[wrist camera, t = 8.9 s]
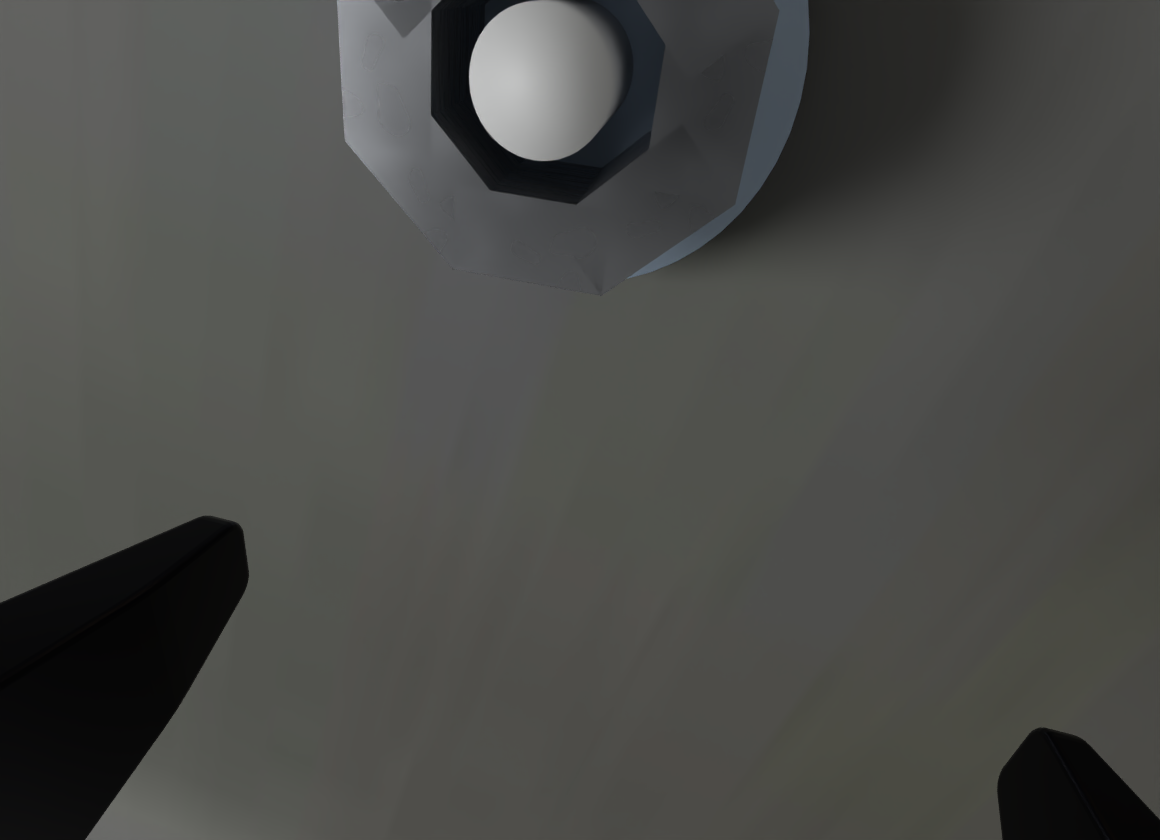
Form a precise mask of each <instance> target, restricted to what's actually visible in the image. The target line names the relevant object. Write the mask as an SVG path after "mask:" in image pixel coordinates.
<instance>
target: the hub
mask: <svg viewBox="0 0 1160 840" xmlns="http://www.w3.org/2000/svg"><path fill="white" fill-rule="evenodd" d="M774 2H775V4H776V5H777V7H778V9H779V15H778V19H777V24H776V28H775V33H774V37H773V41H772V46H771V50H770V55H769V59H768V63H767V68H766V72H765V76H764V81H763V85H762V90H761V94H760V98H759V103H758V107H757V111H756V116H755V120H754V125H753V129H752V133H751V138H750V142H749V146H748V151H747V155H746V160H745V164H744V168H743V173H742V177H741V181H740V186H739V190H738V195H737V199H736V203H735V205H734V206H733V207H731V208H730V209H728V210H727V211H725V212H724V213H722V214H721V215H719V216H718V217H716V218H715V219H713V220H712V221H710V222H709V223H708V224H706V225H705V226H703V227H702V228H700V229H699V230H697V231H696V232H694V233H693V234H691V235H690V236H688V237H687V238H685V239H684V240H683V241H681V242H680V243H678V244H677V245H675V246H674V247H672V248H671V249H669V250H668V251H666V252H665V253H663V254H662V255H660V256H659V257H658V258H656V259H655V260H653V261H652V262H650V263H649V264H647V265H646V266H644V267H643V268H641V269H640V270H638V271H637V272H635V273H634V274H633V275H631V276H630V277H628V278H631V277H635V276H638V275H642V274H646V273H650V272H653V271H655V270H657V269H660V268H662V267H665V266H667V265H669V264H672V263H674V262H676V261H678V260H680V259H682V258H683V257H685V256H687V255H689V254H690V253H692V252H694V251H696V250H697V249H699V248H700V247H702V246H703V245H704V244H706V243H707V242H708V241H710V240H711V239H712V238H714V237H715V236H716V235H718V234H719V233H720V232H721V231H722V230H724V229H725V228H726V227H727V226H728V225H729V224H730V223H731V222H732V221H733V220H734V219H735V218H736V217H737V216H738V215H739V214H740V213H741V212H742V211H743V210H744V208H745V207H746V206H747V205H748V203H749V202H750V201H751V200H752V198H753V197H754V196H755V195H756V193H757V192H758V191H759V190H760V188H761V187H762V185H763V183H764V182H765V180H766V179H767V177H768V175H769V174H770V172H771V171H772V169H773V167H774V166H775V164H776V163H777V160H778V158H779V156H780V154H781V152H782V150H783V147H784V145H785V143H786V141H787V139H788V137H789V135H790V132H791V129H792V126H793V123H794V120H795V117H796V114H797V110H798V107H799V104H800V101H801V96H802V91H803V86H804V81H805V76H806V71H807V61H808V48H809V34H810V32H809V10H808V0H774ZM664 51H665V43H664V42H663V40H662V39H661V37H660V36H659V34H658V32H657V31H656V29H655V28H654V26H653V25H652V23H651V22H650V20H649V18H648V17H647V15H646V14H645V12H644V11H643V9H642V8H641V6H640V5H639V3H638V1H637V0H490V1H489V2H488V3H487V4H486V5H485V20H484V30H483V31H482V33H481V34H480V36H479V38H478V40H477V42H476V44H475V47H474V50H473V53H472V57H471V61H470V69H469V86H470V93H471V98H472V101H473V105H474V108H475V110H476V113H477V115H478V117H479V119H480V121H481V123H482V124H483V126H484V127H485V129H486V130H487V132H488V133H489V134H490V135H491V136H492V138H493V139H494V140H495V141H497V142H498V143H499V144H500V145H501V146H502V147H504V148H505V149H507V150H508V151H510V152H512V153H514V154H515V155H518V156H520V157H523V158H526V159H530V160H537V161H552V160H556V161H562V162H568V163H575V164H581V165H587V166H593V167H599V168H603V167H604V166H605V165H607V164H608V163H609V162H610V161H612V160H613V159H614V158H616V157H617V156H618V155H619V154H621V153H622V152H623V151H625V150H626V149H627V148H628V147H630V146H631V145H632V144H634V143H635V142H636V141H637V140H639V139H640V138H641V137H643V136H644V135H645V134H646V133H648V132H649V131H650V130H652V126H653V120H654V114H655V107H656V101H657V95H658V88H659V82H660V76H661V69H662V63H663V57H664Z"/></svg>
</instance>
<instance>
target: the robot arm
mask: <svg viewBox="0 0 1160 840" xmlns="http://www.w3.org/2000/svg"><path fill="white" fill-rule="evenodd" d="M248 578H249V570H248V562H247V555H246V548H245V541H244V534H243V529H242V528H241V526H240V525H239V524H238V523H236V522H233V521H230V520H226V519H222V518H218V517H214V516H202V517H199V518H196V519H194V520H191V521H189V522H187V523H184V524H182V525H180V526H177V527H175V528H173V529H170V530H168V531H166V532H163V533H161V534H159V535H156V536H154V537H152V538H149V539H147V540H145V541H143V542H140V543H138V544H136V545H133V546H131V547H129V548H126V549H124V550H122V551H119V552H117V553H115V554H112V555H110V556H108V557H105V558H103V559H101V560H98V561H96V562H94V563H92V564H89V565H87V566H85V567H82V568H80V569H78V570H75V571H73V572H71V573H68V574H66V575H64V576H61V577H59V578H57V579H54V580H52V581H50V582H48V583H45V584H43V585H41V586H38V587H36V588H34V589H31V590H29V591H27V592H24V593H22V594H20V595H17V596H15V597H13V598H10V599H8V600H6V601H3V602H1V603H0V840H85V839H86V838H87V836H88V835H89V833H90V832H91V831H92V829H93V828H94V826H95V825H96V824H97V822H98V821H99V819H100V818H101V817H102V815H103V814H104V812H105V811H106V810H107V808H108V807H109V805H110V804H111V802H112V801H113V800H114V798H115V797H116V795H117V794H118V793H119V791H120V790H121V788H122V787H123V786H124V784H125V783H126V781H127V780H128V779H129V777H130V776H131V774H132V773H133V772H134V770H135V769H136V767H137V766H138V765H139V763H140V762H141V760H142V759H143V757H144V756H145V755H146V753H147V752H148V750H149V749H150V748H151V746H152V745H153V743H154V742H155V741H156V739H157V738H158V736H159V735H160V734H161V732H162V731H163V729H164V728H165V726H166V725H167V724H168V722H169V721H170V719H171V718H172V716H173V715H174V713H175V712H176V710H177V709H178V707H179V705H180V704H181V702H182V700H183V699H184V697H185V696H186V694H187V692H188V691H189V689H190V687H191V685H192V684H193V682H194V680H195V678H196V677H197V675H198V673H199V671H200V670H201V668H202V666H203V664H204V663H205V661H206V659H207V657H208V656H209V654H210V652H211V650H212V649H213V647H214V645H215V643H216V641H217V640H218V638H219V636H220V634H221V633H222V631H223V629H224V627H225V626H226V624H227V622H228V620H229V619H230V617H231V615H232V613H233V612H234V610H235V608H236V606H237V605H238V603H239V601H240V599H241V598H242V596H243V594H244V592H245V589H246V587H247V583H248ZM997 792H998V803H999V812H1000V821H1001V830H1002V839H1003V840H1160V819H1159V818H1158V817H1157V816H1156V815H1155V814H1154V813H1153V812H1152V811H1151V810H1150V809H1149V808H1148V807H1147V806H1146V805H1145V803H1144V802H1143V801H1142V800H1141V799H1140V798H1139V797H1138V796H1137V795H1136V794H1135V793H1134V792H1133V791H1132V790H1131V789H1130V788H1129V786H1128V785H1127V784H1126V783H1125V782H1124V781H1123V780H1122V779H1121V778H1120V777H1119V776H1118V775H1117V774H1116V773H1115V772H1114V771H1113V770H1112V768H1111V767H1110V766H1109V765H1108V764H1107V763H1106V762H1105V761H1104V760H1103V759H1102V758H1101V757H1100V756H1099V755H1098V754H1097V753H1096V751H1095V750H1094V749H1093V748H1092V747H1091V746H1090V745H1089V744H1088V743H1087V742H1086V741H1084V740H1083V739H1081V738H1080V737H1077V736H1075V735H1072V734H1068V733H1064V732H1060V731H1056V730H1052V729H1048V728H1037V729H1035V730H1033V731H1032V732H1031V733H1030V734H1029V735H1028V736H1027V737H1026V739H1025V740H1024V741H1023V743H1022V744H1021V745H1020V746H1019V748H1018V749H1017V750H1016V752H1015V753H1014V754H1013V755H1012V757H1011V758H1010V759H1009V761H1008V762H1007V763H1006V765H1005V766H1004V767H1003V769H1002V771H1001V773H1000V776H999V779H998V788H997Z"/></svg>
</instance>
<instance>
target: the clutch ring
mask: <svg viewBox="0 0 1160 840" xmlns="http://www.w3.org/2000/svg"><path fill="white" fill-rule="evenodd" d="M489 1H490V0H337V9H338V27H339V45H340V63H341V81H342V99H343V117H344V135H345V141H346V143H347V144H348V145H349V146H350V147H351V149H352V150H353V151H354V152H355V153H356V155H357V156H358V157H359V158H360V159H361V160H362V162H363V163H364V164H365V165H366V166H367V168H368V169H369V170H370V171H371V172H372V174H373V175H374V176H375V177H376V178H377V180H378V181H379V182H380V183H381V184H382V186H383V187H384V188H385V189H386V190H387V191H388V193H389V194H390V195H391V196H392V197H393V199H394V200H395V201H396V202H397V203H398V205H399V206H400V207H401V208H402V209H403V211H404V212H405V213H406V214H407V215H408V217H409V218H410V219H411V220H412V221H413V222H414V224H415V225H416V226H417V227H418V228H419V230H420V231H421V232H422V233H423V234H424V236H425V237H426V238H427V239H428V240H429V242H430V243H431V244H432V245H433V246H434V248H435V249H436V250H437V251H438V252H439V253H440V255H441V256H442V257H443V258H444V259H445V261H446V262H447V263H448V264H449V265H450V267H451V268H452V269H455V270H460V271H466V272H471V273H477V274H482V275H488V276H494V277H499V278H505V279H510V280H516V281H522V282H527V283H533V284H538V285H544V286H550V287H555V288H561V289H566V290H572V291H578V292H583V293H589V294H594V295H600V296H602V295H603V294H605V293H606V292H608V291H609V290H610V289H612V288H613V287H615V286H616V285H618V284H619V283H621V282H622V281H624V280H625V279H627V278H628V277H630V276H631V275H633V274H634V273H635V272H637V271H638V270H640V269H641V268H643V267H644V266H646V265H647V264H649V263H650V262H652V261H653V260H655V259H656V258H658V257H659V256H660V255H662V254H663V253H665V252H666V251H668V250H669V249H671V248H672V247H674V246H675V245H677V244H678V243H680V242H681V241H683V240H684V239H685V238H687V237H688V236H690V235H691V234H693V233H694V232H696V231H697V230H699V229H700V228H702V227H703V226H705V225H706V224H708V223H709V222H710V221H712V220H713V219H715V218H716V217H718V216H719V215H721V214H722V213H724V212H725V211H727V210H728V209H730V208H731V207H733V206H734V205H735V203H736V199H737V195H738V190H739V186H740V181H741V177H742V173H743V168H744V164H745V160H746V155H747V151H748V146H749V142H750V138H751V133H752V129H753V125H754V120H755V116H756V111H757V107H758V103H759V98H760V94H761V90H762V85H763V81H764V76H765V72H766V68H767V63H768V59H769V55H770V50H771V46H772V41H773V37H774V33H775V28H776V24H777V19H778V15H779V9H778V7H777V5H776V4H775V2H774V0H637V1H638V3H639V5H640V6H641V8H642V9H643V11H644V12H645V14H646V15H647V17H648V18H649V20H650V22H651V23H652V25H653V26H654V28H655V29H656V31H657V32H658V34H659V36H660V37H661V39H662V40H663V42H664V43H665V51H664V57H663V63H662V69H661V76H660V82H659V88H658V95H657V101H656V107H655V114H654V120H653V126H652V130H650V131H649V132H648V133H646V134H645V135H644V136H643V137H641V138H640V139H639V140H637V141H636V142H635V143H634V144H632V145H631V146H630V147H628V148H627V149H626V150H625V151H623V152H622V153H621V154H619V155H618V156H617V157H616V158H614V159H613V160H612V161H610V162H609V163H608V164H607V165H605V166H604V167H603V168H599V167H593V166H587V165H581V164H575V163H568V162H562V161H556V160H552V161H537V160H530V159H526V158H523V157H520V156H518V155H515V154H514V153H512V152H510V151H508V150H507V149H505V148H504V147H502V146H501V145H500V144H499V143H498V142H497V141H495V140H494V139H493V138H492V136H491V135H490V134H489V133H488V132H487V130H486V129H485V127H484V126H483V124H482V123H481V121H480V119H479V117H478V115H477V113H476V110H475V108H474V105H473V101H472V98H471V93H470V86H469V69H470V61H471V57H472V53H473V50H474V47H475V44H476V42H477V40H478V38H479V36H480V34H481V33H482V31H483V30H484V20H485V5H486V4H487V3H488V2H489Z"/></svg>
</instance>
